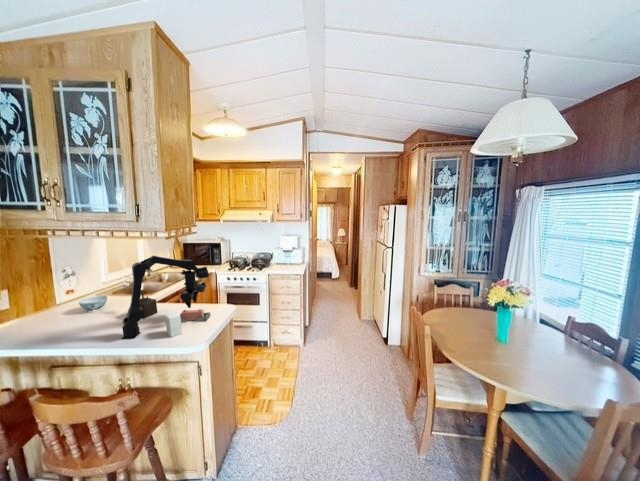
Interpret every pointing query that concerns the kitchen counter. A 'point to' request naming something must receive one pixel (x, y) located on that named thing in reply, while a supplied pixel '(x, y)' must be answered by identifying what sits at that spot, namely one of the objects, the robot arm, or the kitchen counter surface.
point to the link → (192, 314)
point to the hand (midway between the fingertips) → (192, 305)
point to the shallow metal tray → (197, 318)
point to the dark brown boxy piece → (147, 306)
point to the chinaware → (93, 303)
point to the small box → (173, 324)
